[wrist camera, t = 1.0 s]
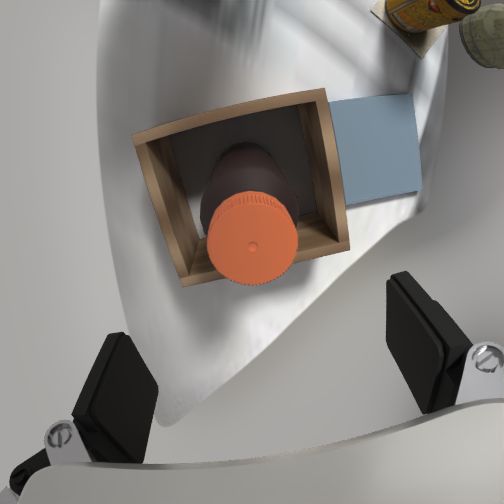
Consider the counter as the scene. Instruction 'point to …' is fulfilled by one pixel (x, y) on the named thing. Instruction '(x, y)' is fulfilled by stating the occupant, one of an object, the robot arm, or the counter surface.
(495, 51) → the thermos
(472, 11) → the condiment
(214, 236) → the vinegar
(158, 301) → the counter surface
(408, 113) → the mat
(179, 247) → the crate
